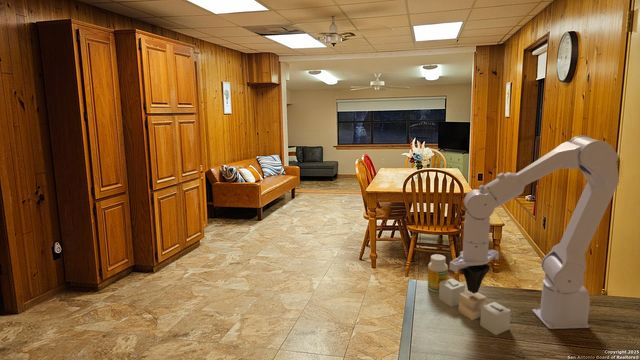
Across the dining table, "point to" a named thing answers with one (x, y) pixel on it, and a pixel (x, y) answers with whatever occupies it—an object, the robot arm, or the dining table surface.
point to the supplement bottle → (437, 272)
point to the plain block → (471, 304)
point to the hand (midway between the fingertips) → (472, 291)
